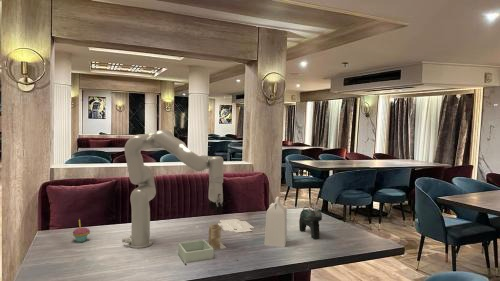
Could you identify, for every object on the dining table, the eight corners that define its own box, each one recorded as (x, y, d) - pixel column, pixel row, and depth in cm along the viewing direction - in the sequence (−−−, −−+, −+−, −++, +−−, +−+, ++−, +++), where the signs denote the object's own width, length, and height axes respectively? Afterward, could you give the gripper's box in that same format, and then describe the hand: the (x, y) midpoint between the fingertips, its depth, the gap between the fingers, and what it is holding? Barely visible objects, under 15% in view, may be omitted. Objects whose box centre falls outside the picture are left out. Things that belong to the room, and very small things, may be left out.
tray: (242, 219, 238) (242, 214, 238) (257, 233, 212) (258, 227, 212) (214, 222, 231) (214, 217, 230) (227, 236, 205) (227, 230, 204)
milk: (284, 247, 185) (286, 200, 184) (264, 245, 188) (265, 199, 186) (286, 240, 197) (288, 196, 196) (267, 238, 199) (268, 194, 198)
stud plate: (208, 253, 173) (208, 240, 173) (202, 246, 182) (202, 235, 182) (226, 250, 178) (226, 238, 177) (219, 244, 187) (219, 232, 186)
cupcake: (69, 241, 185) (69, 219, 184) (83, 236, 192) (83, 216, 192) (79, 244, 181) (79, 222, 180) (93, 239, 188) (93, 218, 188)
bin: (185, 265, 158) (185, 252, 157) (177, 254, 170) (178, 243, 170) (213, 260, 164) (213, 248, 164) (204, 250, 176) (204, 239, 176)
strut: (211, 248, 177) (212, 227, 176) (208, 245, 181) (208, 225, 180) (220, 246, 179) (220, 226, 178) (217, 243, 183) (217, 224, 183)
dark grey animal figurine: (322, 239, 199) (323, 206, 199) (312, 240, 197) (314, 207, 196) (304, 229, 218) (305, 199, 217) (296, 230, 216) (297, 199, 215)
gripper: (204, 177, 184) (203, 208, 185) (215, 182, 169) (214, 216, 170) (217, 176, 188) (216, 207, 188) (228, 181, 172) (228, 214, 173)
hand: (215, 211), depth 179 cm, fingers open, 9 cm apart
